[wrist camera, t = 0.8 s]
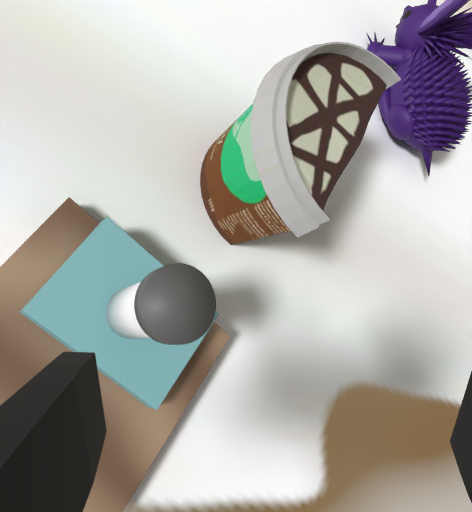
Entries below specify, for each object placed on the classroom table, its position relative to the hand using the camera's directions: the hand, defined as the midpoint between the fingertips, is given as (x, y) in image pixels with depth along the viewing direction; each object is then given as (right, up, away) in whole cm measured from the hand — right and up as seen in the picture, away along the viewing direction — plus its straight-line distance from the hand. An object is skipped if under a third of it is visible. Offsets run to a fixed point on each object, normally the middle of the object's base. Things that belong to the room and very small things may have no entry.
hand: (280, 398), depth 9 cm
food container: (-1, +9, +23) cm, 24 cm away
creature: (+14, +18, +34) cm, 41 cm away
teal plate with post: (-7, 0, +15) cm, 16 cm away
